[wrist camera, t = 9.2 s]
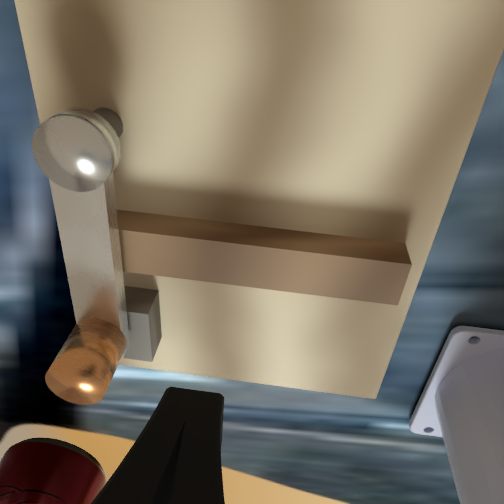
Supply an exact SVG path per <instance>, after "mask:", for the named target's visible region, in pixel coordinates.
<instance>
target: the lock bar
mask: <svg viewBox="0 0 504 504" xmlns="http://www.w3.org/2000/svg"><path fill="white" fill-rule="evenodd" d="M32 150H33V154H34V157H35V160H36V162H37V164H38V166H39V167H40V169H41V170H42V172H43V173H44V174H45V175H46V176H47V177H48V178H49V181H50V186H51V192H52V197H53V202H54V207H55V213H56V218H57V223H58V228H59V234H60V239H61V244H62V249H63V255H64V260H65V265H66V271H67V276H68V281H69V286H70V292H71V297H72V302H73V307H74V313H75V318H76V323H77V324H76V325H75V327H74V329H73V330H72V332H71V334H70V335H69V337H68V339H67V340H66V342H65V343H64V345H63V347H62V348H61V350H60V352H59V353H58V355H57V357H56V358H55V360H54V362H53V363H52V365H51V366H50V368H49V370H48V371H47V373H46V376H45V380H46V384H47V386H48V387H49V389H50V390H51V391H52V392H53V393H54V394H56V395H57V396H58V397H60V398H62V399H64V400H66V401H68V402H71V403H75V404H81V405H90V404H95V403H97V402H99V401H100V400H102V398H103V397H104V395H105V392H106V390H107V388H108V386H109V384H110V381H111V379H112V377H113V375H114V373H115V370H116V368H117V366H118V364H119V362H120V359H121V358H124V356H125V354H126V351H127V349H128V347H129V345H130V340H129V330H128V320H127V309H126V299H125V289H124V279H123V268H122V258H121V248H120V238H119V227H118V217H117V207H116V197H115V186H114V176H113V171H114V170H115V169H116V168H117V166H118V164H119V162H120V158H121V145H120V141H119V138H118V136H117V134H116V132H115V130H114V129H113V127H112V126H111V125H110V124H109V123H108V122H107V121H106V120H105V119H104V118H103V117H102V116H100V115H99V114H97V113H96V112H94V111H91V110H89V109H86V108H81V107H69V108H65V109H63V110H61V111H59V112H57V113H56V114H55V115H53V116H52V117H50V118H49V119H47V120H46V121H44V122H43V123H42V124H40V125H39V126H38V128H37V129H36V131H35V133H34V135H33V139H32Z"/></svg>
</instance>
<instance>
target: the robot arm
mask: <svg viewBox="0 0 504 504" xmlns="http://www.w3.org/2000/svg"><path fill="white" fill-rule="evenodd" d="M473 336H476V337H474V338H471V337H473ZM223 409H224V397H223V396H222V395H221V394H220V393H212V392H205V391H198V390H190V389H183V388H176V387H169V388H168V389H166V391H165V393H164V395H163V397H162V399H161V400H160V402H159V404H158V406H157V408H156V409H155V411H154V413H153V415H152V416H151V418H150V420H149V421H148V423H147V424H146V426H145V428H144V429H143V431H142V432H141V434H140V435H139V437H138V439H137V440H136V442H135V443H134V445H133V446H132V448H131V449H130V450H129V452H128V454H127V455H126V456H125V458H124V459H123V461H122V462H121V464H120V465H119V467H118V468H117V469H116V471H115V472H114V474H113V475H112V476H111V478H110V479H109V481H108V482H107V483H106V484H105V486H104V487H103V488H102V490H101V491H100V492H99V493H98V495H97V496H96V497H95V499H94V500H93V501H92V503H91V504H225V503H224V493H223V481H222V469H221V442H222V428H223ZM409 427H410V430H411V431H412V432H414V433H417V434H424V435H431V436H438V437H443V440H444V443H445V447H446V451H447V455H448V459H449V462H450V466H451V470H452V474H453V478H454V481H455V485H456V489H457V493H458V497H459V500H460V504H504V331H502V330H494V329H486V328H478V327H470V326H458V327H455V328H454V329H452V330H451V332H450V333H449V336H448V338H447V340H446V342H445V344H444V347H443V349H442V351H441V353H440V355H439V358H438V360H437V362H436V364H435V366H434V369H433V371H432V373H431V375H430V377H429V379H428V382H427V384H426V386H425V388H424V390H423V393H422V395H421V397H420V399H419V401H418V404H417V406H416V408H415V410H414V412H413V414H412V417H411V419H410V421H409Z"/></svg>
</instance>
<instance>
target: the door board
mask: <svg viewBox="0 0 504 504" xmlns="http://www.w3.org/2000/svg"><path fill="white" fill-rule="evenodd" d="M15 5H16V10H17V15H18V20H19V24H20V29H21V34H22V39H23V44H24V48H25V53H26V58H27V63H28V68H29V72H30V77H31V82H32V87H33V92H34V96H35V101H36V106H37V111H38V116H39V120H40V124H42V123H43V122H44V121H46V120H47V119H49V118H50V117H52V116H53V115H55V114H56V113H57V112H59V111H61V110H63V109H65V108H69V107H81V108H86V109H89V110H91V111H94V112H96V113H97V114H99V115H100V116H102V117H103V118H104V119H105V120H106V121H107V122H108V123H109V124H110V125H111V126H112V127H113V129H114V130H115V132H116V134H117V136H118V138H119V141H120V145H121V158H120V162H119V164H118V166H117V168H116V169H115V170H114V171H113V176H114V186H115V197H116V207H117V217H118V227H119V238H120V248H121V258H122V268H123V279H124V289H125V299H126V309H127V320H128V330H129V340H130V345H129V347H128V349H127V351H126V354H125V356H124V358H121V359H120V362H119V365H126V366H134V367H141V368H149V369H156V370H163V371H171V372H178V373H186V374H193V375H201V376H208V377H216V378H223V379H230V380H238V381H245V382H253V383H260V384H268V385H275V386H283V387H290V388H297V389H305V390H312V391H320V392H327V393H335V394H342V395H349V396H357V397H364V398H372V399H376V397H377V394H378V391H379V388H380V386H381V383H382V380H383V377H384V375H385V372H386V369H387V366H388V364H389V361H390V358H391V356H392V353H393V350H394V347H395V345H396V342H397V339H398V336H399V334H400V331H401V328H402V325H403V323H404V320H405V317H406V315H407V312H408V309H409V306H410V304H411V301H412V298H413V295H414V293H415V290H416V287H417V284H418V282H419V279H420V276H421V274H422V271H423V268H424V265H425V263H426V260H427V257H428V254H429V252H430V249H431V246H432V243H433V241H434V238H435V235H436V233H437V230H438V227H439V224H440V222H441V219H442V216H443V213H444V211H445V208H446V205H447V203H448V200H449V197H450V194H451V192H452V189H453V186H454V183H455V181H456V178H457V175H458V172H459V170H460V167H461V164H462V162H463V159H464V156H465V153H466V151H467V148H468V145H469V142H470V140H471V137H472V134H473V131H474V129H475V126H476V123H477V121H478V118H479V115H480V112H481V110H482V107H483V104H484V101H485V99H486V96H487V93H488V90H489V88H490V85H491V82H492V80H493V77H494V74H495V71H496V69H497V66H498V63H499V60H500V58H501V55H502V52H503V49H504V0H15Z"/></svg>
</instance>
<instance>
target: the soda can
mask: <svg viewBox="0 0 504 504" xmlns="http://www.w3.org/2000/svg"><path fill="white" fill-rule="evenodd" d="M105 484H106V479H105V474H104V472H103V469H102V467H101V465H100V464H99V462H98V461H97V460H96V459H95V458H94V457H93V456H92V455H91V454H89V453H88V452H86V451H85V450H83V449H81V448H79V447H77V446H75V445H73V444H70V443H68V442H64V441H61V440H57V439H51V438H32V439H27V440H24V441H21V442H19V443H17V444H15V445H13V446H11V447H10V448H9V449H8V450H7V451H6V453H5V454H4V456H3V458H2V459H1V461H0V504H91V503H92V501H93V500H94V499H95V497H96V496H97V495H98V493H99V492H100V491H101V490H102V488H103V487H104V486H105Z"/></svg>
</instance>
